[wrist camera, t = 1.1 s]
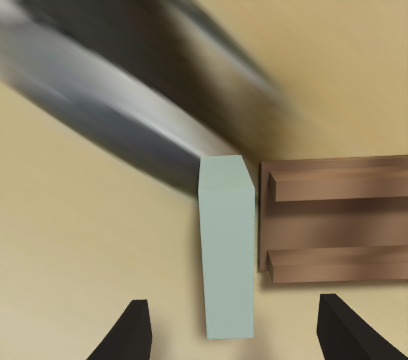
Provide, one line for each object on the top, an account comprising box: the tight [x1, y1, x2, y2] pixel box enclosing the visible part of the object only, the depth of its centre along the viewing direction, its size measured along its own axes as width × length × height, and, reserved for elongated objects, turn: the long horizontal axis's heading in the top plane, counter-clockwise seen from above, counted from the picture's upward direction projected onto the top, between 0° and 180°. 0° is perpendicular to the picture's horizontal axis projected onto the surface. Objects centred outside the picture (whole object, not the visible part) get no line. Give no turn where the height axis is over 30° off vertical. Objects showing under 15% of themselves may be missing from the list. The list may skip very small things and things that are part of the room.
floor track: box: [259, 155, 408, 283], centre depth 19 cm, size 14×8×3 cm, turn 93°
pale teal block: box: [198, 155, 255, 339], centre depth 18 cm, size 9×3×6 cm, turn 3°
